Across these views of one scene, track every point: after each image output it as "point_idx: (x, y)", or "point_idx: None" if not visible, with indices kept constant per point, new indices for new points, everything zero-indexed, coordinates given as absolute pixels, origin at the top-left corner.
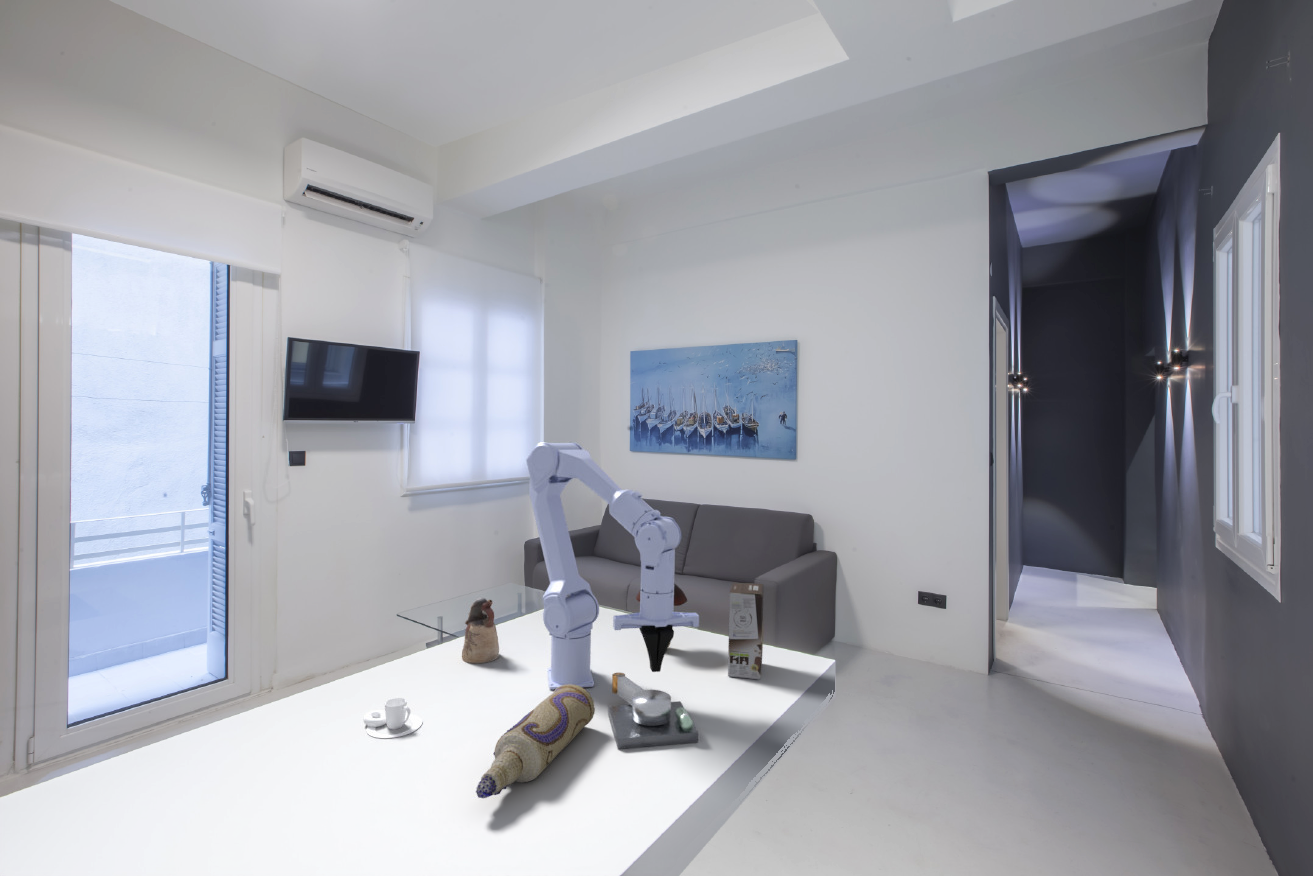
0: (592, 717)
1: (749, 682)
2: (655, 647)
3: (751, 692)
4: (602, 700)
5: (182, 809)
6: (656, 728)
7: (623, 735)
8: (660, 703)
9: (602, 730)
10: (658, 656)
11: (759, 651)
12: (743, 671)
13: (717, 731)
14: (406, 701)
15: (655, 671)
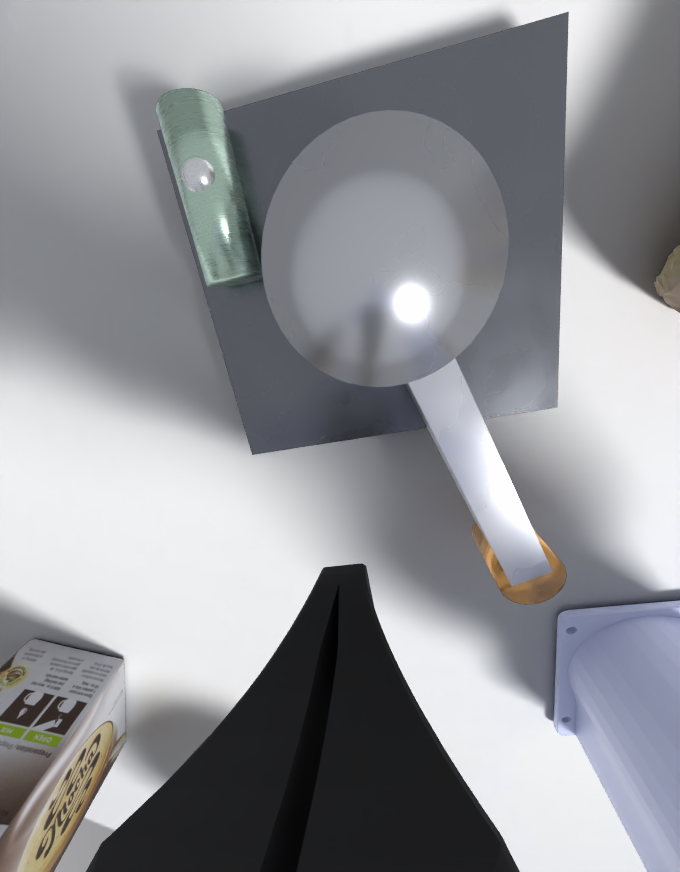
0: (668, 264)
1: (59, 624)
2: (344, 706)
3: (43, 564)
4: (539, 520)
5: None
6: None
7: (531, 63)
8: (326, 157)
9: (579, 265)
10: (323, 633)
11: None
12: (61, 668)
13: (116, 269)
14: None
15: (347, 566)
